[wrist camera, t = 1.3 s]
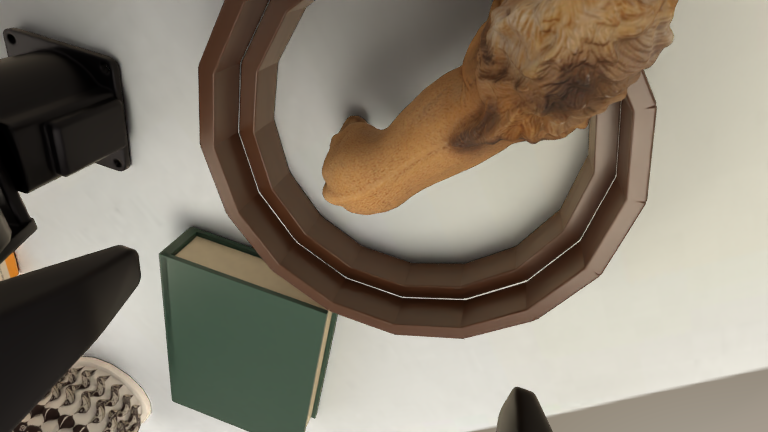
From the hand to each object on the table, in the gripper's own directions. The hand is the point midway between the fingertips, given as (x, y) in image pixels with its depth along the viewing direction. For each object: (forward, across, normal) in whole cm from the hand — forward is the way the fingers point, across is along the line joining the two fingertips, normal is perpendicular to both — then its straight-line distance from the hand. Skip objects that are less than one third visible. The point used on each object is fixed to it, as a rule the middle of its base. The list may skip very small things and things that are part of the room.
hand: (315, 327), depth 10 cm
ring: (+13, 0, 0) cm, 13 cm away
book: (+13, +7, +17) cm, 23 cm away
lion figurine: (+13, -1, -3) cm, 13 cm away
